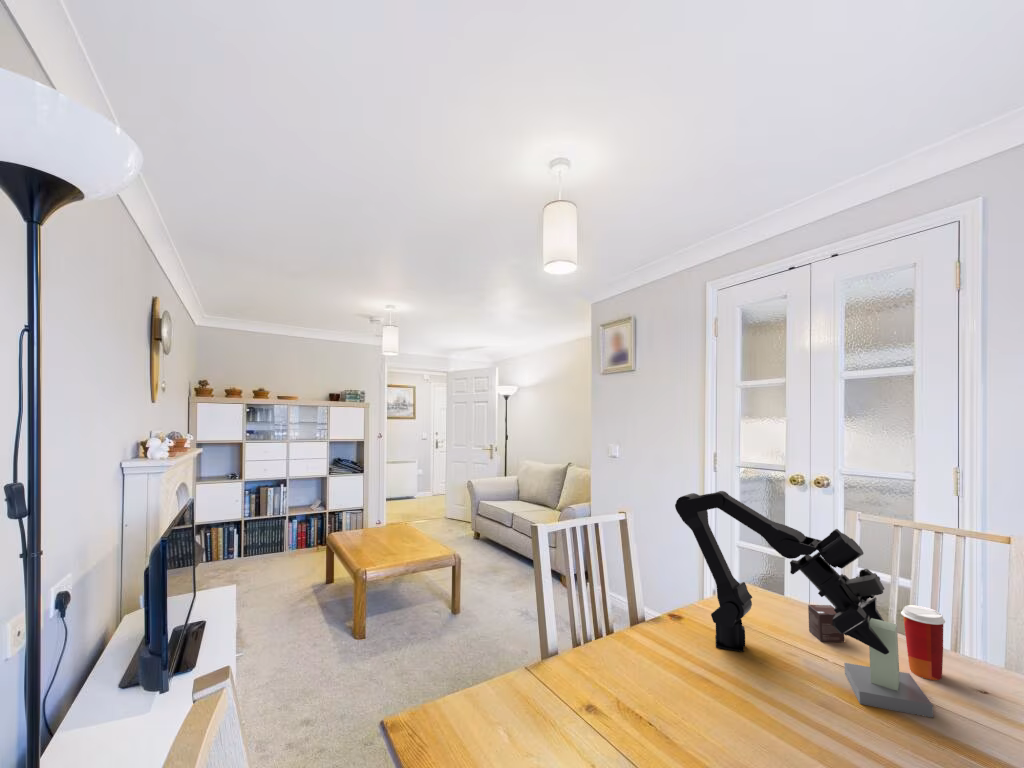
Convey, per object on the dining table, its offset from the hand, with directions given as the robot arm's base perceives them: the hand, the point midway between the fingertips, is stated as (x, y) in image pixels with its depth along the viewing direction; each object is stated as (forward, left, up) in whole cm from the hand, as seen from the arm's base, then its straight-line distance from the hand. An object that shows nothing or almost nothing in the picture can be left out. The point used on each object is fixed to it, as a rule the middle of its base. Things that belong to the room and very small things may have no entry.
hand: (889, 645), depth 101 cm
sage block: (-1, 0, -8) cm, 8 cm away
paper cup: (+10, +13, -11) cm, 20 cm away
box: (-7, +25, -11) cm, 28 cm away
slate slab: (-1, 0, -11) cm, 11 cm away
